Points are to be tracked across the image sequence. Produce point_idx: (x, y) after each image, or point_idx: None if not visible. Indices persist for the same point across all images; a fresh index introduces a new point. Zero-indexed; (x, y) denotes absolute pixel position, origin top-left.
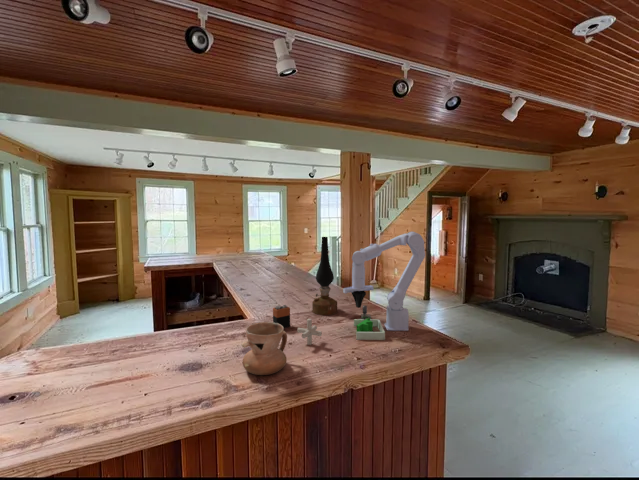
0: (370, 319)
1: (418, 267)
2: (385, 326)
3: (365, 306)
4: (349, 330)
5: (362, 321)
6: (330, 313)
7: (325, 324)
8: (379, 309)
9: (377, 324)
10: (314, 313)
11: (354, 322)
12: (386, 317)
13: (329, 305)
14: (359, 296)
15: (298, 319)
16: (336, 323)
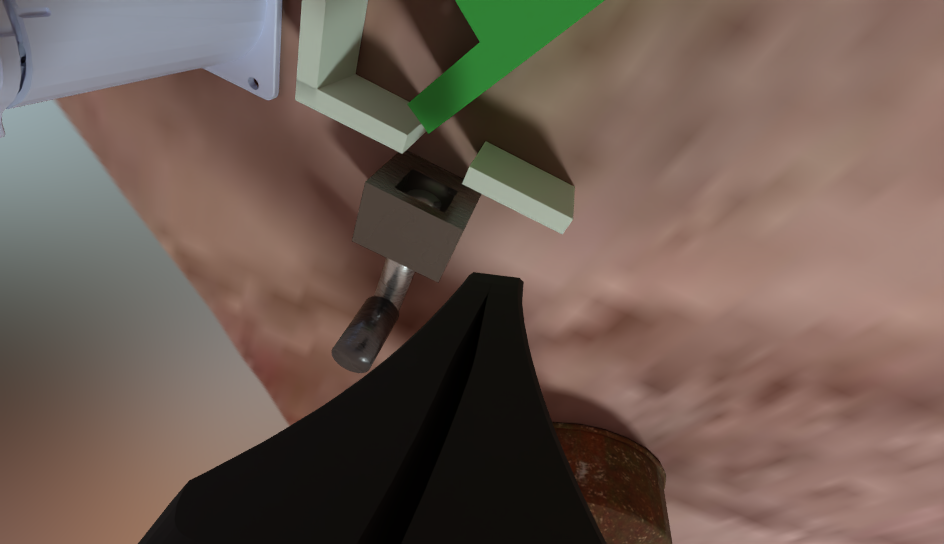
0: (392, 146)
1: None
2: (279, 12)
3: (348, 348)
4: (707, 99)
5: (581, 16)
6: (584, 434)
7: (777, 333)
8: (259, 348)
9: (348, 80)
10: (665, 477)
11: (570, 201)
12: (185, 26)
13: (592, 498)
14: (470, 493)
15: (860, 477)
16: (670, 308)
